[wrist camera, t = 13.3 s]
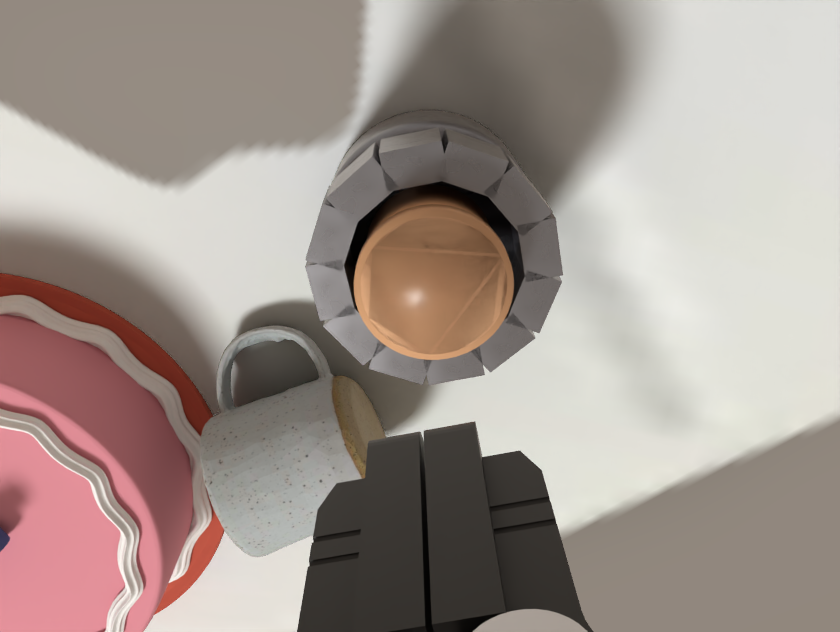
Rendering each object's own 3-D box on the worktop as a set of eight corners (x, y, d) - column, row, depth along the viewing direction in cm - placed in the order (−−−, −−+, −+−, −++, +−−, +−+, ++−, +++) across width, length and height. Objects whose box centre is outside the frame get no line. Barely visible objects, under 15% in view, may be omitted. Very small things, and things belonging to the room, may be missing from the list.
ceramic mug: (404, 449, 45) (403, 534, 37) (278, 499, 46) (254, 590, 39) (321, 292, 41) (302, 353, 34) (186, 350, 42) (141, 420, 35)
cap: (487, 166, 32) (501, 195, 28) (507, 297, 35) (524, 344, 30) (346, 193, 33) (337, 226, 28) (376, 321, 35) (372, 372, 30)
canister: (511, 90, 37) (542, 120, 29) (539, 283, 41) (573, 358, 32) (307, 132, 37) (280, 173, 29) (354, 318, 41) (341, 401, 33)
